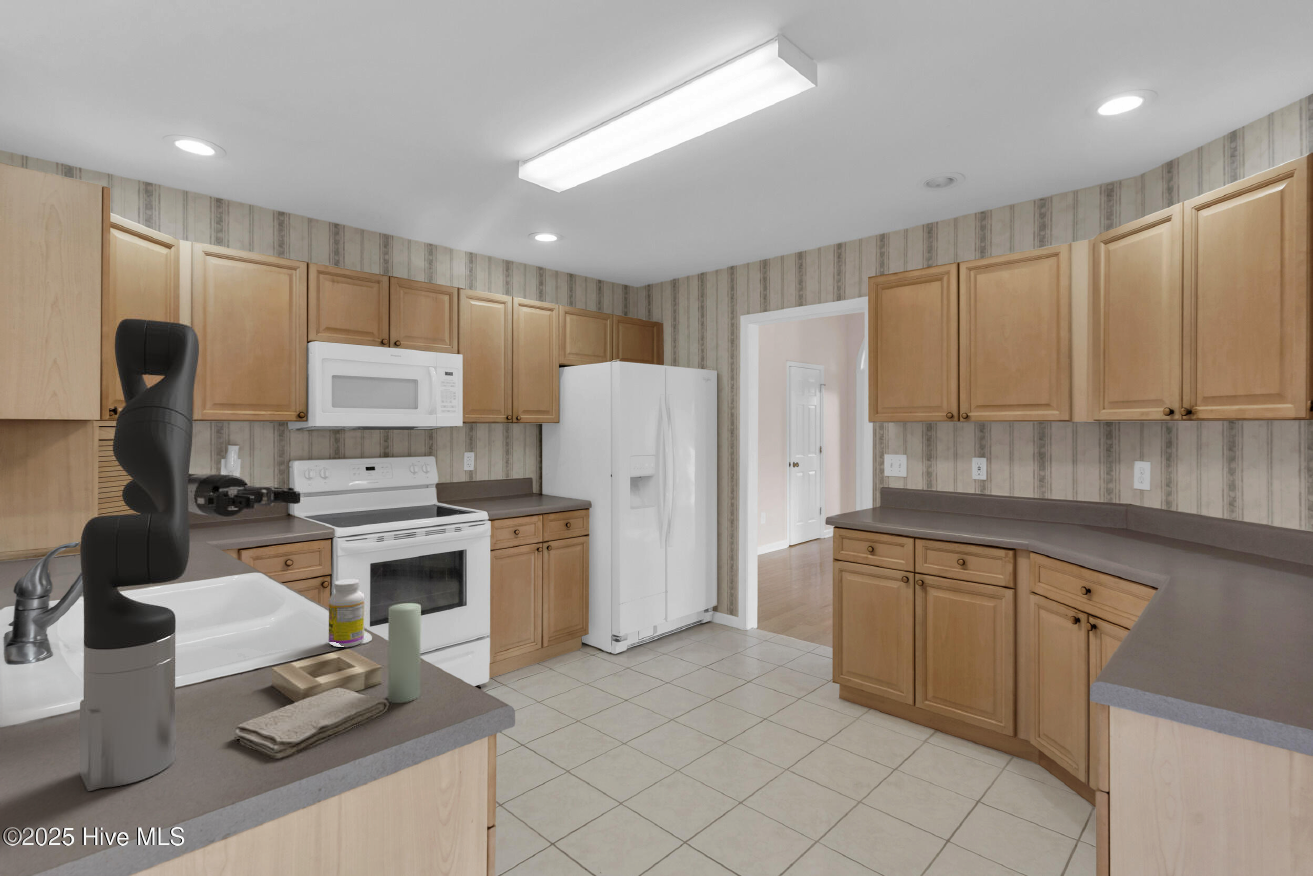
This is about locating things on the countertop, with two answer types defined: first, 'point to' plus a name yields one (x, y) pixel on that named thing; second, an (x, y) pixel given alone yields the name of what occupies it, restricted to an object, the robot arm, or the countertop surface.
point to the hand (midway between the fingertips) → (276, 500)
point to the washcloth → (308, 722)
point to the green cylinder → (404, 652)
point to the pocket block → (326, 674)
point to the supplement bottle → (346, 613)
